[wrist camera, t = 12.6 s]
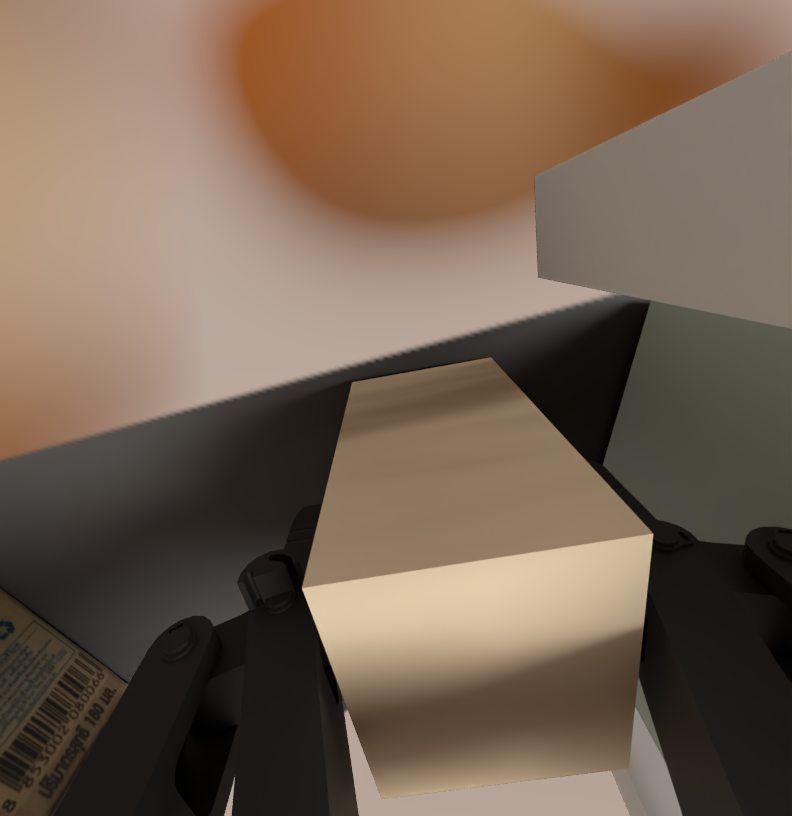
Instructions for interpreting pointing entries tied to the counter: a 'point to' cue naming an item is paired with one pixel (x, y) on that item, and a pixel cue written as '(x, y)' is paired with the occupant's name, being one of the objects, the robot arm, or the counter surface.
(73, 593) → the counter surface
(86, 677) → the beverage carton
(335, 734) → the robot arm
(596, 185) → the white piece
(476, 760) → the tan rectangular block
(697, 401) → the door
